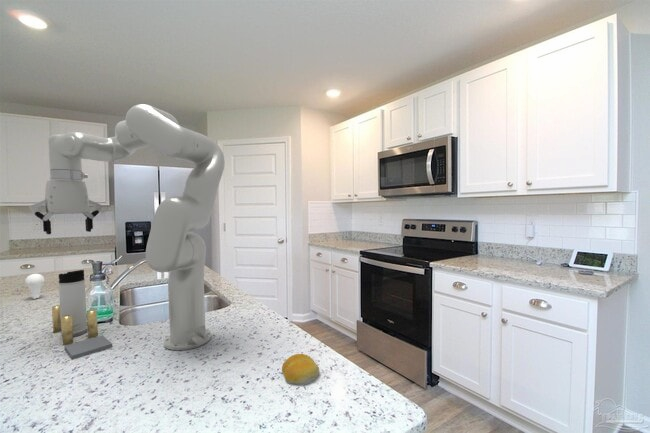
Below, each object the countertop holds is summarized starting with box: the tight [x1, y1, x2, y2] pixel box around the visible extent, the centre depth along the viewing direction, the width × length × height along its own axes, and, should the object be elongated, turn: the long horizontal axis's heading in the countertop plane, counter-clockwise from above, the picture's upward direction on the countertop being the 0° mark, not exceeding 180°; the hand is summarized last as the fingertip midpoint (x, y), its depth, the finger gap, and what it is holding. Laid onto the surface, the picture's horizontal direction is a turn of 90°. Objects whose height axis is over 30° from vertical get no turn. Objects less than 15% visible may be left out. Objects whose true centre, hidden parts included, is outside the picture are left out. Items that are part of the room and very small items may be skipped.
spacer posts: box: [51, 304, 99, 346], centre depth 98 cm, size 16×8×8 cm, turn 49°
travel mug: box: [58, 269, 88, 338], centre depth 98 cm, size 6×7×20 cm
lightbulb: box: [24, 273, 45, 300], centre depth 135 cm, size 6×6×11 cm
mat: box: [63, 334, 113, 360], centre depth 88 cm, size 9×9×1 cm
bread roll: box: [281, 353, 320, 386], centre depth 73 cm, size 8×9×4 cm
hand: (69, 232), depth 97 cm, fingers open, 9 cm apart
